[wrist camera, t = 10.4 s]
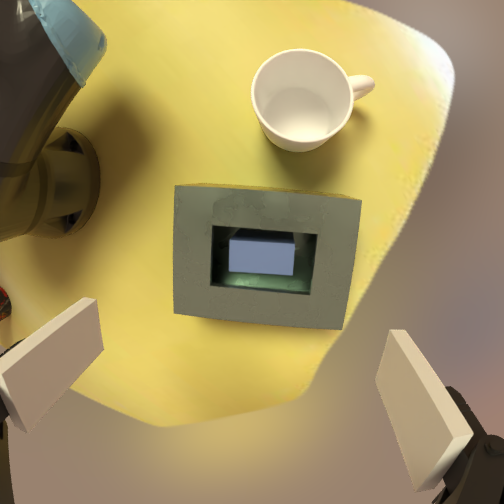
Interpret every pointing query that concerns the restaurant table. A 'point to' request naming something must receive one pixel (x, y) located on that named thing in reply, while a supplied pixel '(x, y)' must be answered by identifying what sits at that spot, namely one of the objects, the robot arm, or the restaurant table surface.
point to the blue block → (262, 252)
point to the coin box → (257, 284)
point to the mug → (304, 98)
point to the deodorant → (4, 304)
